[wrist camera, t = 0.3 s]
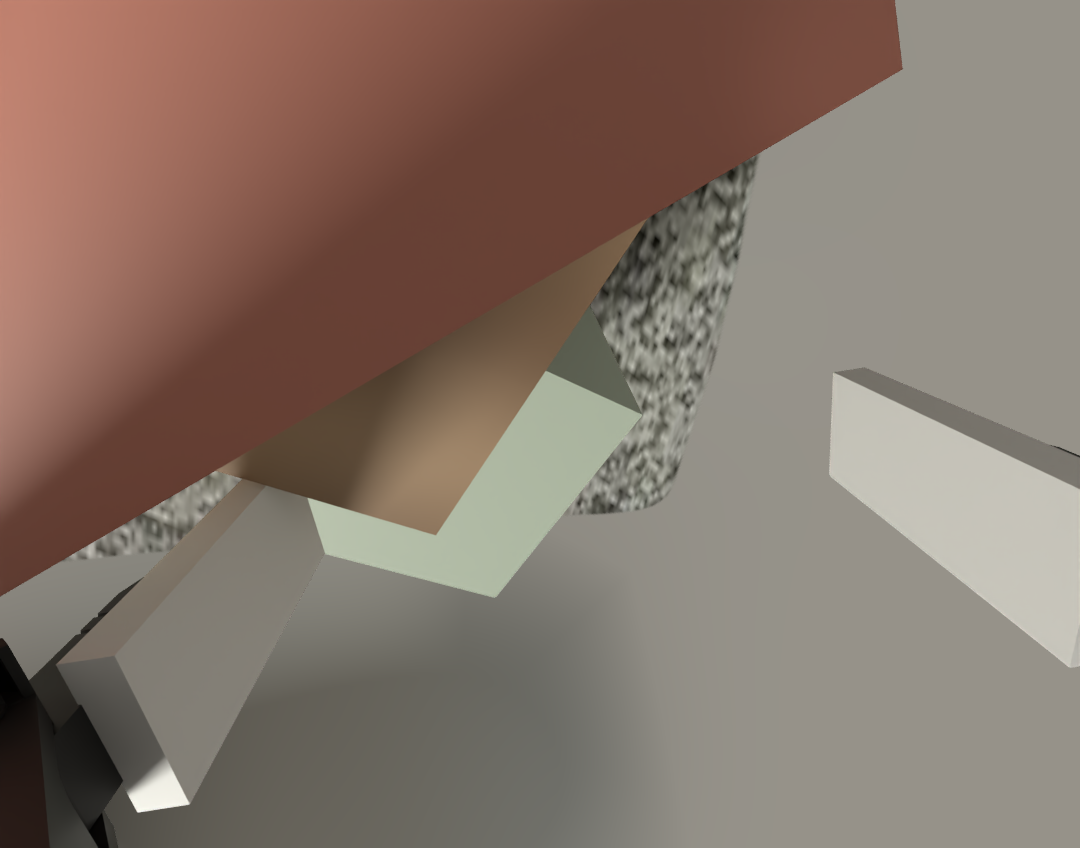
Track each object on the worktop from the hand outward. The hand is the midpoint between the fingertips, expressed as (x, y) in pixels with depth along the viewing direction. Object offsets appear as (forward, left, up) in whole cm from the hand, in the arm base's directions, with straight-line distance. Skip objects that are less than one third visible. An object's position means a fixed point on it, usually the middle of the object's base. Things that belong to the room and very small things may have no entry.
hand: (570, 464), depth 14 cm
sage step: (+9, +2, -29) cm, 30 cm away
